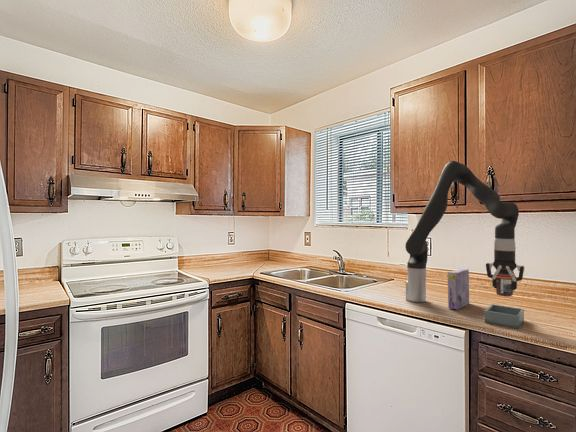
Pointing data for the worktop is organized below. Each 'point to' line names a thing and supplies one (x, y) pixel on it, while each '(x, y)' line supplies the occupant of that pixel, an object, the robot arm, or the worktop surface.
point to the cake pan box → (458, 288)
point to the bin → (504, 316)
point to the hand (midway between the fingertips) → (504, 288)
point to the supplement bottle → (504, 283)
